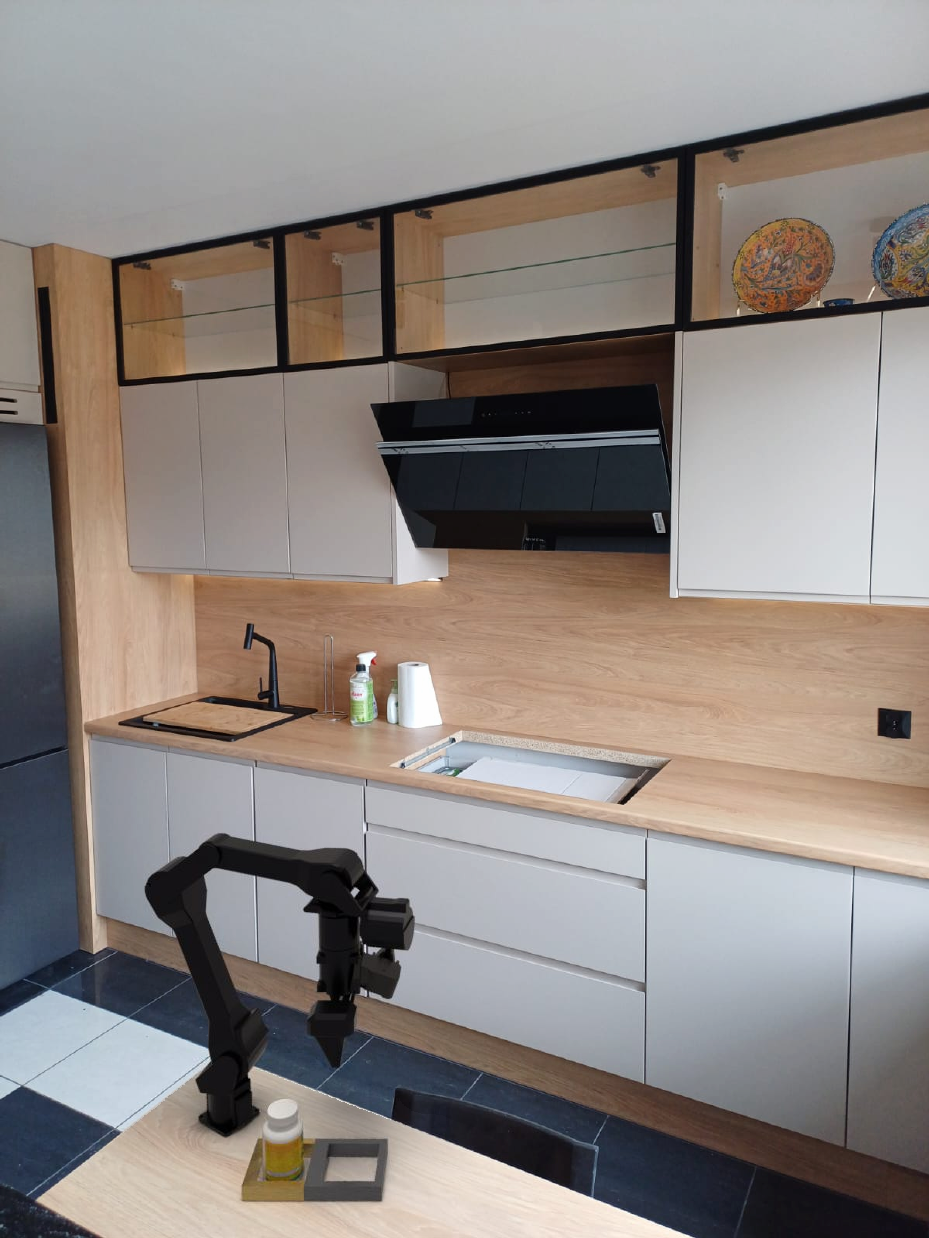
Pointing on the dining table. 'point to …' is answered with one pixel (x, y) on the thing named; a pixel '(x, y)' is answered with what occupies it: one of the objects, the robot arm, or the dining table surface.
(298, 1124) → the supplement bottle
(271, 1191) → the rectangular frame
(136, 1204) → the dining table surface
